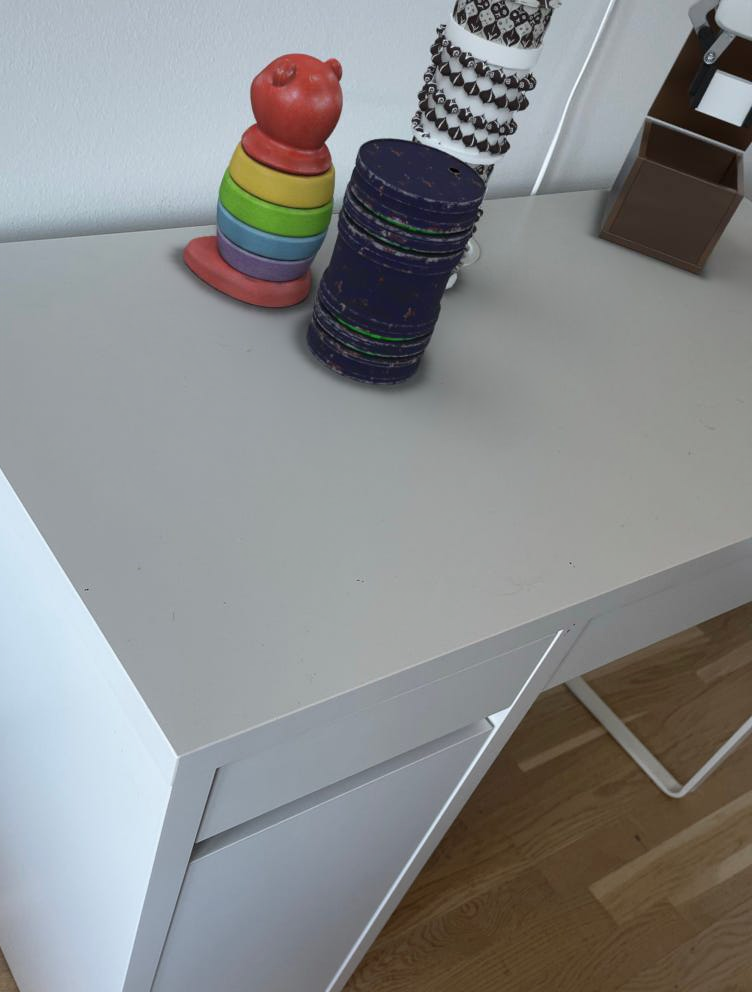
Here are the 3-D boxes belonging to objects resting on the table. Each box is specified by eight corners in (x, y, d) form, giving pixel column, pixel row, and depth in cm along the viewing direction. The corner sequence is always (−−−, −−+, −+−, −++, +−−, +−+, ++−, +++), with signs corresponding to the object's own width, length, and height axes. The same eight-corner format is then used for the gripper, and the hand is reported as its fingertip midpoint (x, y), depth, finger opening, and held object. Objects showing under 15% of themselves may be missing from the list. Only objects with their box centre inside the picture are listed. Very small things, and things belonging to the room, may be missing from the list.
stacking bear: (276, 242, 91) (327, 29, 78) (337, 302, 86) (402, 86, 73) (173, 252, 85) (209, 25, 72) (233, 317, 81) (282, 86, 68)
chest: (698, 274, 108) (744, 195, 101) (598, 236, 108) (637, 155, 102) (701, 228, 117) (743, 153, 111) (608, 193, 118) (645, 117, 111)
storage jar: (338, 390, 77) (399, 203, 66) (284, 318, 82) (332, 135, 71) (441, 380, 81) (514, 204, 71) (384, 313, 87) (443, 139, 76)
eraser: (740, 126, 100) (761, 88, 97) (694, 110, 101) (714, 71, 98) (740, 123, 101) (761, 85, 98) (695, 106, 101) (714, 68, 99)
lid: (819, 43, 96) (831, 7, 97) (706, 2, 97) (719, -33, 98) (744, 152, 110) (756, 119, 111) (646, 115, 111) (658, 83, 112)
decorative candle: (347, 246, 94) (438, -63, 75) (419, 237, 98) (521, -55, 80) (405, 298, 89) (516, -15, 71) (478, 287, 94) (599, -10, 76)
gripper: (919, -74, 89) (797, 132, 103) (739, -137, 91) (642, 75, 104) (930, -60, 84) (800, 155, 98) (740, -126, 85) (637, 96, 99)
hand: (720, 112), depth 100 cm, fingers closed on eraser, 4 cm apart
